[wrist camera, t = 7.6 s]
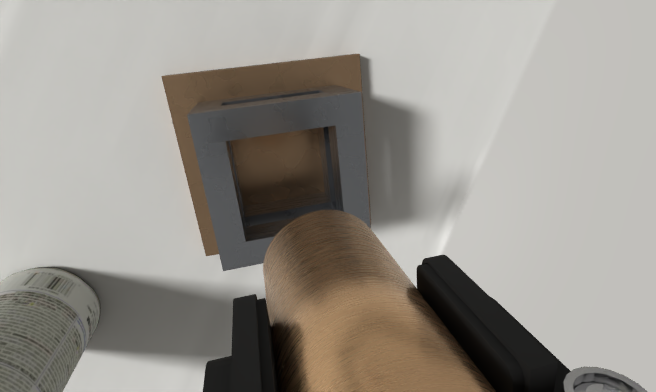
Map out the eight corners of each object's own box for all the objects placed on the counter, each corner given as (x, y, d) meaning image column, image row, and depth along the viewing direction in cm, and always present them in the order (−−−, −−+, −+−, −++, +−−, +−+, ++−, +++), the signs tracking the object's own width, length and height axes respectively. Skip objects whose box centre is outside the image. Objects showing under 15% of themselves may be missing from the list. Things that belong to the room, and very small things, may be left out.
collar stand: (164, 75, 23) (138, 81, 17) (355, 54, 25) (391, 52, 19) (207, 249, 27) (198, 303, 21) (366, 219, 29) (399, 260, 23)
